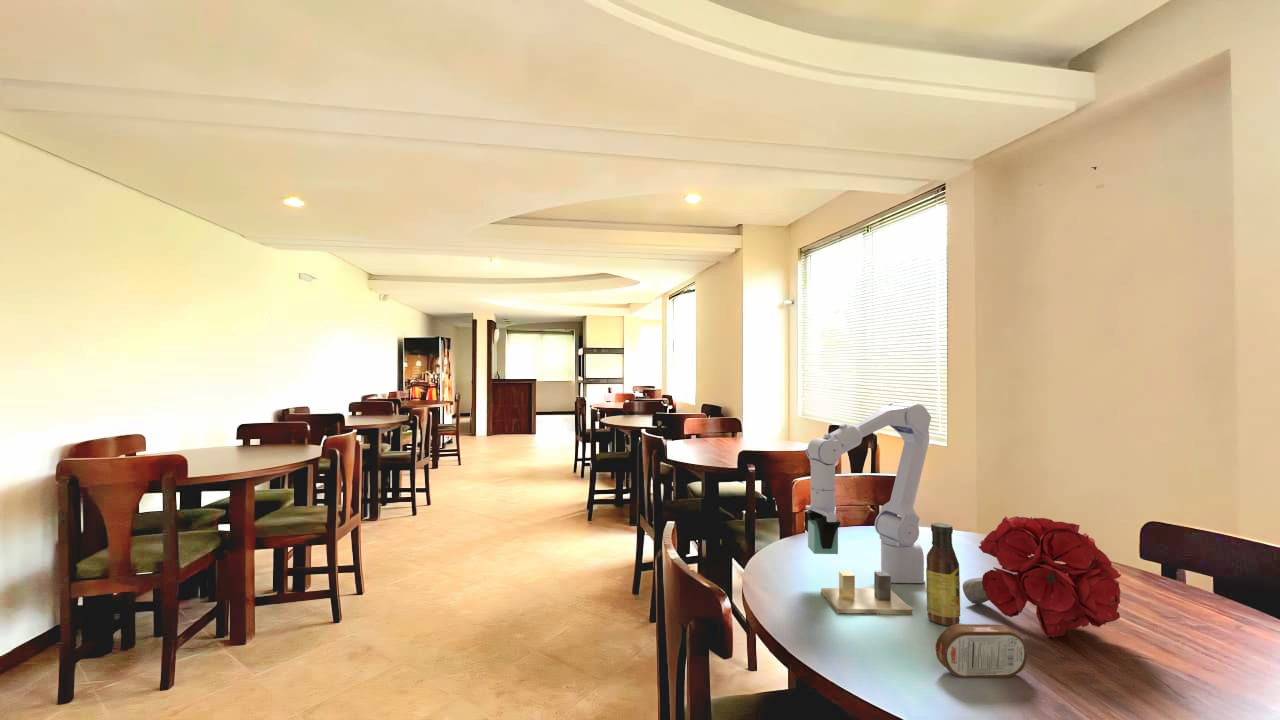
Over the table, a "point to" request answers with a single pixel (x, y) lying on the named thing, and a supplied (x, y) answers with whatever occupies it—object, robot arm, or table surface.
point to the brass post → (846, 586)
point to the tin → (981, 651)
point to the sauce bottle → (942, 577)
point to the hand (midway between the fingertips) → (822, 544)
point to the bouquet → (1048, 575)
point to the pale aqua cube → (815, 541)
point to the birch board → (869, 598)
